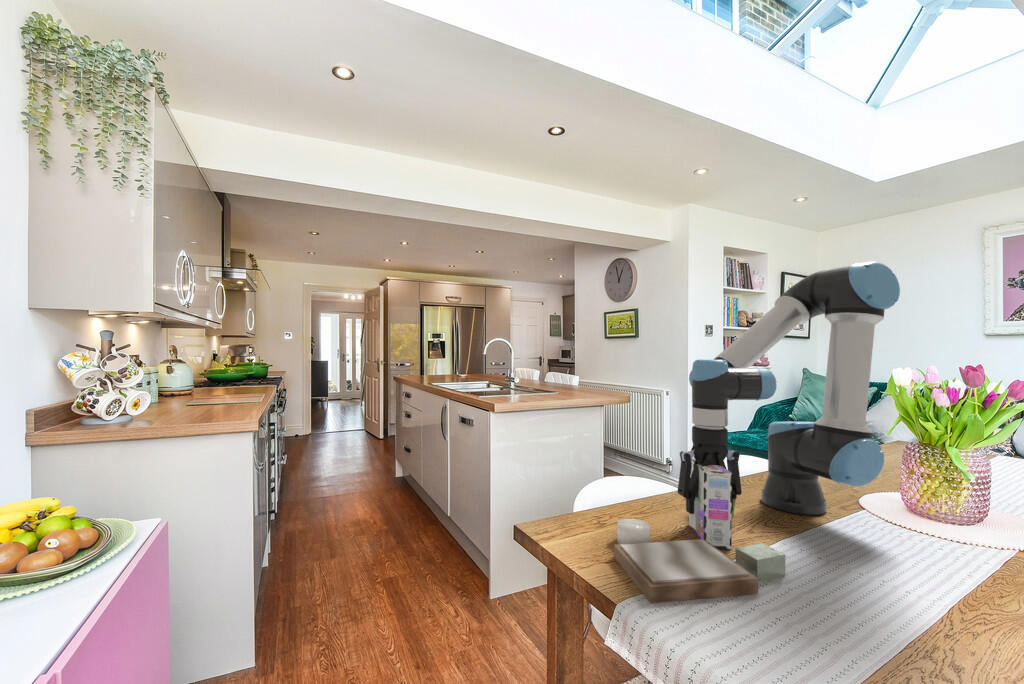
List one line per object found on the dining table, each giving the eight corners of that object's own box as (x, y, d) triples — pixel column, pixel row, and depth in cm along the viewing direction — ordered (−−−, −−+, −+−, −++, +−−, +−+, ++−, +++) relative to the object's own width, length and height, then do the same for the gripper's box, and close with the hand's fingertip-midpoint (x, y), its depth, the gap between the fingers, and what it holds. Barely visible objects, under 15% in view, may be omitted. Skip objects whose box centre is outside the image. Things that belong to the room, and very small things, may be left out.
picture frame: (703, 551, 91) (703, 536, 91) (758, 593, 75) (758, 576, 75) (613, 557, 88) (613, 542, 88) (650, 602, 72) (650, 584, 72)
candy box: (733, 550, 91) (732, 472, 92) (703, 547, 93) (703, 470, 93) (715, 524, 105) (715, 457, 105) (689, 522, 106) (690, 455, 107)
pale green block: (762, 563, 87) (762, 543, 87) (785, 575, 82) (785, 554, 82) (735, 568, 84) (735, 548, 84) (757, 581, 80) (757, 559, 80)
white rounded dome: (641, 535, 99) (641, 517, 99) (656, 549, 92) (656, 530, 92) (612, 537, 98) (612, 519, 98) (625, 551, 91) (625, 532, 91)
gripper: (738, 422, 105) (738, 517, 104) (660, 424, 102) (660, 522, 101) (760, 428, 97) (760, 530, 97) (677, 430, 94) (677, 535, 94)
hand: (709, 526), depth 99 cm, fingers closed on candy box, 7 cm apart
